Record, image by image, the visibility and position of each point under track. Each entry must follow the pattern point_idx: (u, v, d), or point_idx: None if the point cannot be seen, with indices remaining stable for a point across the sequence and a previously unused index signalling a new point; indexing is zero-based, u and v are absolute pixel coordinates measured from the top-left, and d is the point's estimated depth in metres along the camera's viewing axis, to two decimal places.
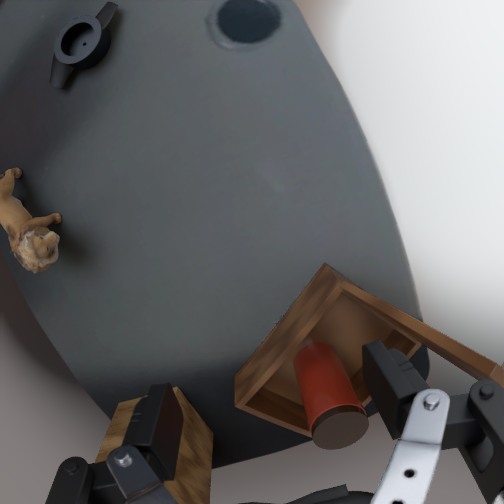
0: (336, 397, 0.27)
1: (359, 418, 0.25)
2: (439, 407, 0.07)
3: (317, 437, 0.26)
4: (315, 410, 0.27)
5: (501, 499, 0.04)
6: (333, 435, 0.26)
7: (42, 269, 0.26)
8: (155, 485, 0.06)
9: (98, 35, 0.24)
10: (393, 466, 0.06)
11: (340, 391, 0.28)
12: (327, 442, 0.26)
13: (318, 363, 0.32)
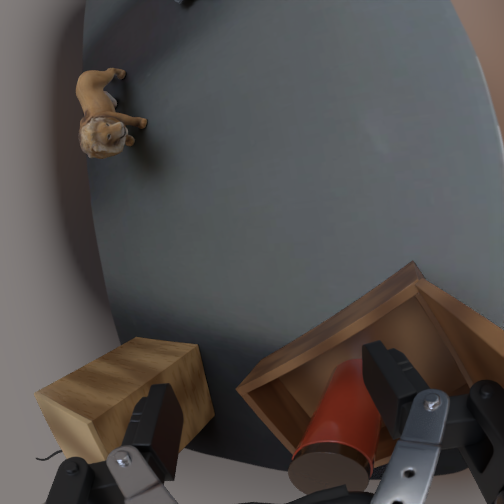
0: (346, 431, 0.18)
1: (358, 473, 0.15)
2: (439, 407, 0.07)
3: (295, 470, 0.17)
4: (312, 435, 0.18)
5: (501, 499, 0.04)
6: (315, 478, 0.17)
7: (97, 155, 0.26)
8: (156, 485, 0.06)
9: None
10: (393, 466, 0.06)
11: (356, 427, 0.18)
12: (304, 483, 0.17)
13: (354, 383, 0.23)
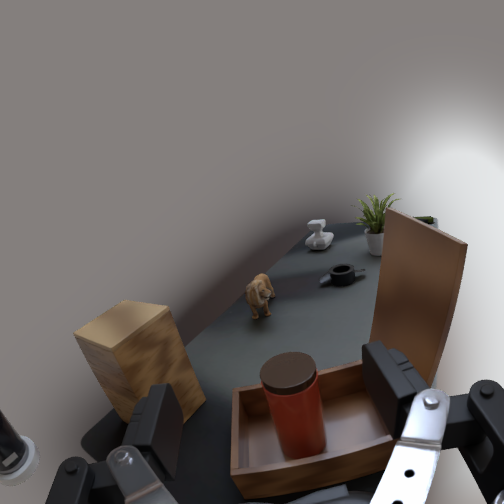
0: None
1: (310, 365, 0.29)
2: (439, 407, 0.07)
3: (270, 362, 0.31)
4: None
5: (501, 499, 0.04)
6: (280, 367, 0.30)
7: (252, 292, 0.60)
8: (155, 485, 0.06)
9: (349, 271, 0.70)
10: (393, 466, 0.06)
11: None
12: (269, 371, 0.30)
13: None
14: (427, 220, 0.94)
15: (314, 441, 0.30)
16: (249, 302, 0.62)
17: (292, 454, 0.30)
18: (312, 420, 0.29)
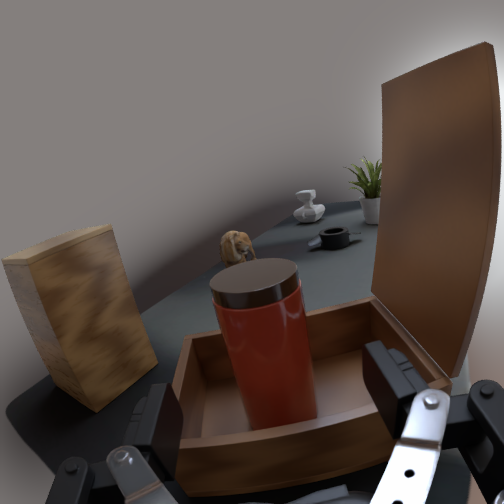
0: None
1: (288, 268, 0.19)
2: (439, 407, 0.07)
3: (228, 270, 0.21)
4: None
5: (501, 499, 0.04)
6: (241, 273, 0.20)
7: (226, 243, 0.51)
8: (155, 485, 0.06)
9: (343, 232, 0.61)
10: (393, 466, 0.06)
11: None
12: (224, 278, 0.20)
13: None
14: None
15: (298, 407, 0.20)
16: (223, 258, 0.53)
17: None
18: (294, 366, 0.19)
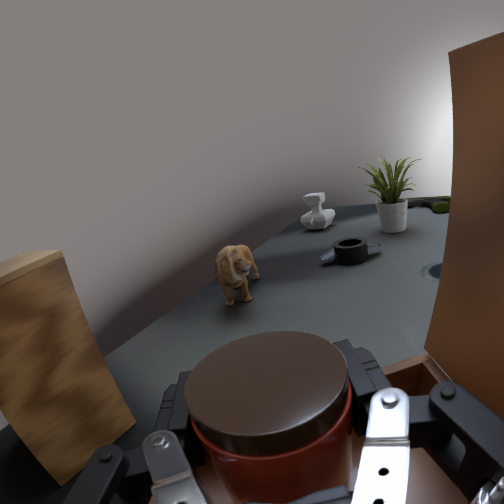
0: None
1: (330, 365, 0.10)
2: (398, 404, 0.08)
3: (219, 355, 0.12)
4: None
5: (484, 494, 0.05)
6: (242, 371, 0.10)
7: (223, 262, 0.41)
8: (185, 475, 0.07)
9: (361, 244, 0.51)
10: (365, 467, 0.06)
11: None
12: (211, 379, 0.10)
13: None
14: (445, 199, 0.76)
15: None
16: (220, 278, 0.43)
17: None
18: None
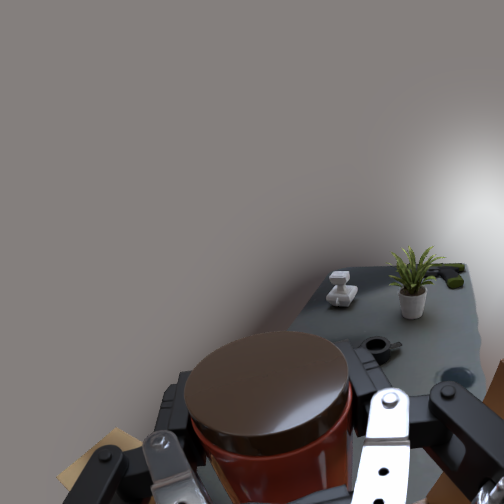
0: None
1: (330, 365, 0.10)
2: (399, 405, 0.08)
3: (219, 356, 0.12)
4: None
5: (484, 494, 0.05)
6: (242, 371, 0.10)
7: None
8: (185, 475, 0.07)
9: (386, 349, 0.55)
10: (365, 467, 0.06)
11: None
12: (211, 379, 0.10)
13: None
14: (459, 268, 0.80)
15: None
16: None
17: None
18: None
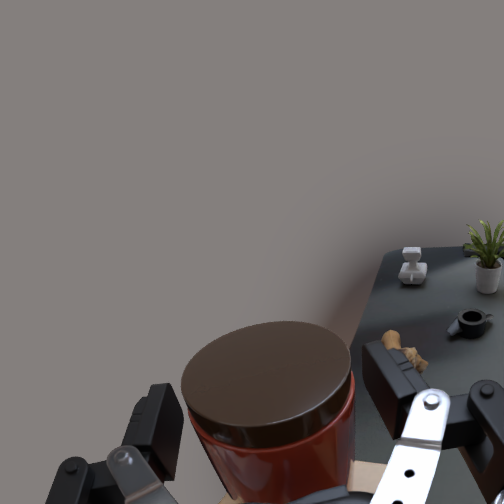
0: None
1: (332, 355, 0.09)
2: (439, 407, 0.07)
3: (218, 345, 0.11)
4: None
5: (501, 499, 0.04)
6: (241, 360, 0.10)
7: None
8: (156, 485, 0.06)
9: (484, 319, 0.45)
10: (393, 466, 0.06)
11: None
12: (209, 369, 0.10)
13: None
14: None
15: None
16: None
17: None
18: None
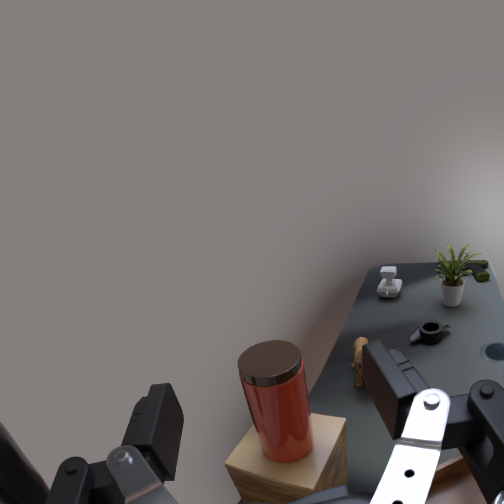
0: None
1: (294, 354, 0.26)
2: (439, 407, 0.07)
3: (250, 350, 0.28)
4: None
5: (501, 499, 0.04)
6: (260, 356, 0.27)
7: None
8: (155, 485, 0.06)
9: (440, 329, 0.62)
10: (393, 466, 0.06)
11: None
12: (248, 360, 0.27)
13: None
14: (483, 264, 0.87)
15: (299, 442, 0.27)
16: (361, 373, 0.54)
17: (274, 457, 0.27)
18: (296, 418, 0.26)
